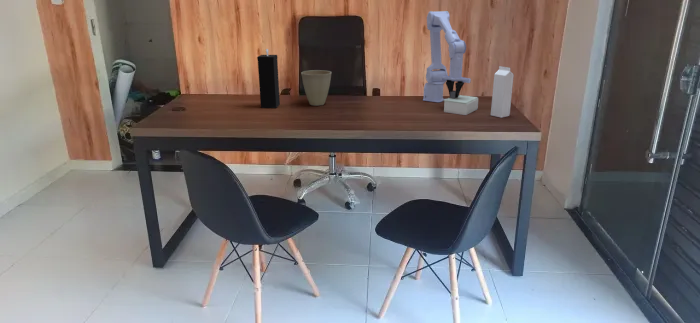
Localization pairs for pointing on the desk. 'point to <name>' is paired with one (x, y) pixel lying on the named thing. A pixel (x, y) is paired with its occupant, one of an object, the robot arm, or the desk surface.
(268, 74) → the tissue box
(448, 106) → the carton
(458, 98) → the lid
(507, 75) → the milk
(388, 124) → the desk surface
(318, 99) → the plant pot
